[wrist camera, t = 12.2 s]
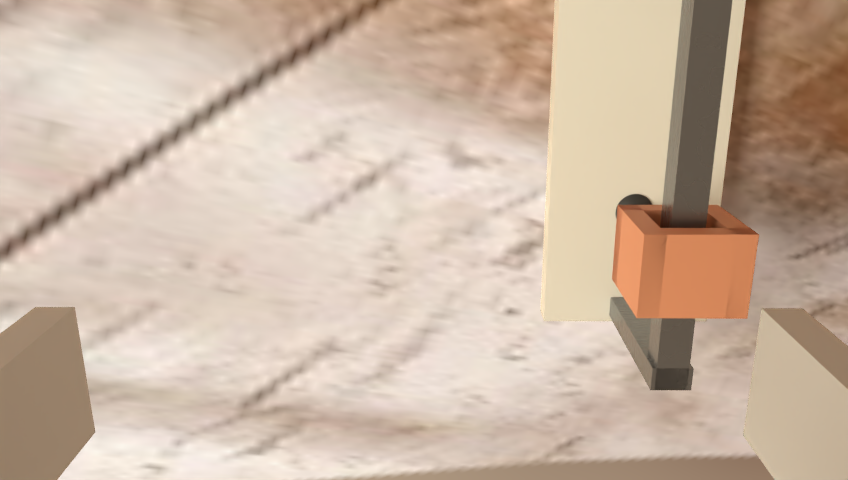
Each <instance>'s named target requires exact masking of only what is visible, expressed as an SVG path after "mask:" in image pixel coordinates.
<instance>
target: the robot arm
mask: <svg viewBox="0 0 848 480" xmlns="http://www.w3.org/2000/svg"><path fill="white" fill-rule="evenodd" d="M94 433H95V428H94V422H93V416H92V410H91V404H90V397H89V391H88V385H87V379H86V373H85V367H84V361H83V355H82V349H81V343H80V337H79V331H78V325H77V319H76V313H75V307H35V308H34V309H32V310H31V311H30V312H28V313H27V314H26V315H24V316H23V317H22V318H20V319H19V320H18V321H16V322H15V323H14V324H12V325H11V326H10V327H9V328H7V329H6V330H5V331H3V332H2V333H1V334H0V480H57V479H58V478H59V477H60V475H61V474H62V473H63V472H64V470H65V469H66V468H67V467H68V465H69V464H70V463H71V462H72V460H73V459H74V458H75V457H76V455H77V454H78V453H79V452H80V450H81V449H82V448H83V447H84V445H85V444H86V443H87V442H88V440H89V439H90V438H91V437H92V435H93V434H94ZM743 436H744V437H745V439H746V440H747V441H748V443H749V444H750V446H751V447H752V448H753V450H754V451H755V453H756V454H757V455H758V457H759V458H760V460H761V461H762V462H763V464H764V465H765V467H766V468H767V470H768V471H769V472H770V474H771V475H772V477H773V478H774V480H848V346H847V345H846V344H844V343H843V342H842V341H841V340H840V339H838V338H837V337H836V336H835V335H834V334H832V333H831V332H830V331H829V330H828V329H826V328H825V327H824V326H823V325H822V324H820V323H819V322H818V321H817V320H816V319H815V318H813V317H812V316H811V315H810V314H809V313H807V312H806V311H805V310H804V309H796V308H762V310H761V317H760V324H759V330H758V337H757V344H756V351H755V358H754V364H753V371H752V378H751V385H750V392H749V398H748V405H747V412H746V419H745V426H744V432H743Z"/></svg>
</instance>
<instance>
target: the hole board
mask: <svg viewBox="0 0 848 480" xmlns="http://www.w3.org/2000/svg"><path fill="white" fill-rule="evenodd" d="M745 3H746V0H733V1H732V10H731V18H730V27H729V35H728V44H727V52H726V61H725V69H724V78H723V86H722V95H721V103H720V112H719V120H718V129H717V137H716V146H715V154H714V163H713V172H712V180H711V189H710V197H709V205H719V206H720V207H721V199H722V191H723V182H724V174H725V166H726V158H727V150H728V142H729V133H730V125H731V117H732V109H733V101H734V93H735V85H736V76H737V68H738V60H739V52H740V44H741V36H742V27H743V19H744V11H745ZM681 7H682V0H555V9H554V31H553V52H552V74H551V95H550V116H549V138H548V159H547V181H546V202H545V224H544V245H543V267H542V288H541V310H540V311H541V314H542V317H543V320H544V321H612V319H611V317H610V316H609V312H610V299H611V297H623V296H622V294H621V293H620V291H619V289H618V288H617V286H616V285H615V283H614V282H613V280H612V272H613V259H614V246H615V233H616V220H617V207H618V205H662V203H663V192H664V182H665V172H666V161H667V151H668V141H669V131H670V120H671V110H672V100H673V89H674V79H675V69H676V59H677V48H678V38H679V28H680V18H681ZM695 321H707V318H695Z"/></svg>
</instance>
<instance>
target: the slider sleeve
mask: <svg viewBox="0 0 848 480" xmlns="http://www.w3.org/2000/svg"><path fill="white" fill-rule="evenodd" d="M661 213H662V205H618V207H617V220H616V233H615V246H614V259H613V272H612V280H613V282H614V283H615V285H616V286H617V288H618V289H619V291H620V293H621V294H622V296H623V297H624V299H625V301H626V302H627V304H628V305H629V307H630V308H631V310H632V312H633V313H634V315H635V316H636V318H747V316H748V309H749V302H750V295H751V288H752V281H753V274H754V266H755V259H756V252H757V245H758V238H759V234H757V233H756V232H755V231H753V230H752V229H751V228H749V227H748V226H746V225H745V224H744V223H742V222H741V221H739V220H738V219H737V218H735V217H734V216H732V215H731V214H730V213H728V212H727V211H726V210H724V209H723V208H721V207H720V206H719V205H709V206H708V214H707V223H706V228H660V223H661Z"/></svg>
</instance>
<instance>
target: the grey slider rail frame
mask: <svg viewBox="0 0 848 480" xmlns="http://www.w3.org/2000/svg"><path fill="white" fill-rule="evenodd" d="M732 1H733V0H682V7H681V18H680V28H679V38H678V48H677V59H676V69H675V79H674V89H673V100H672V110H671V120H670V131H669V141H668V151H667V161H666V172H665V182H664V192H663V203H662V213H661V223H660V228H706V223H707V214H708V206H709V197H710V189H711V180H712V172H713V163H714V154H715V146H716V137H717V129H718V120H719V112H720V103H721V95H722V86H723V78H724V69H725V61H726V52H727V44H728V35H729V27H730V18H731V10H732ZM609 316H610V317H611V319H612V321H613V323H614V325H615V327H616V328H617V330H618V332H619V334H620V336H621V337H622V339H623V341H624V343H625V345H626V347H627V348H628V350H629V352H630V354H631V356H632V357H633V359H634V361H635V363H636V365H637V367H638V368H639V370H640V372H641V374H642V376H643V377H644V379H645V381H646V383H647V385H648V387H649V388H650V390H691V385H692V377H693V367H692V366H691V364H690V359H691V350H692V342H693V333H694V325H695V318H636V316H635V315H634V313H633V312H632V310H631V308H630V307H629V305H628V304H627V302H626V301H625V299H624V297H611V299H610V312H609Z"/></svg>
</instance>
